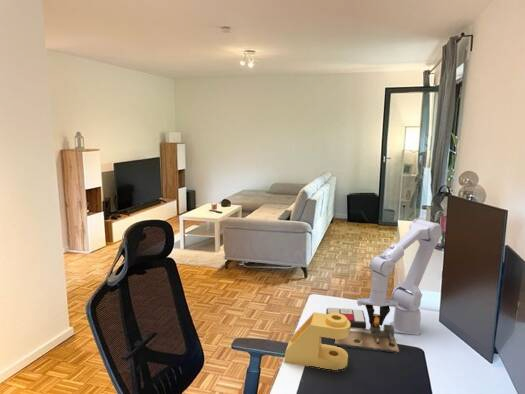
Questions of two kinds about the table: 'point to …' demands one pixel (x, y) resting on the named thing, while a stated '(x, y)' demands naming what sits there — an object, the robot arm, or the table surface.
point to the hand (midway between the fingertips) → (375, 323)
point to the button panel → (351, 316)
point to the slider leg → (376, 326)
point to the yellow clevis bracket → (319, 342)
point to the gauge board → (370, 339)
